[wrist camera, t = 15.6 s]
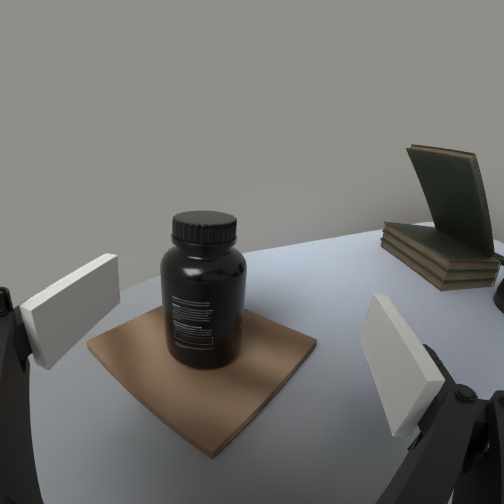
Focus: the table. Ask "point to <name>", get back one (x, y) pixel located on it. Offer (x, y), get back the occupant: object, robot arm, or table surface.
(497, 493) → the robot arm
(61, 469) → the table surface
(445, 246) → the stacked books
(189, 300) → the supplement bottle
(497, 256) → the smart home device
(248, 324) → the walnut board
